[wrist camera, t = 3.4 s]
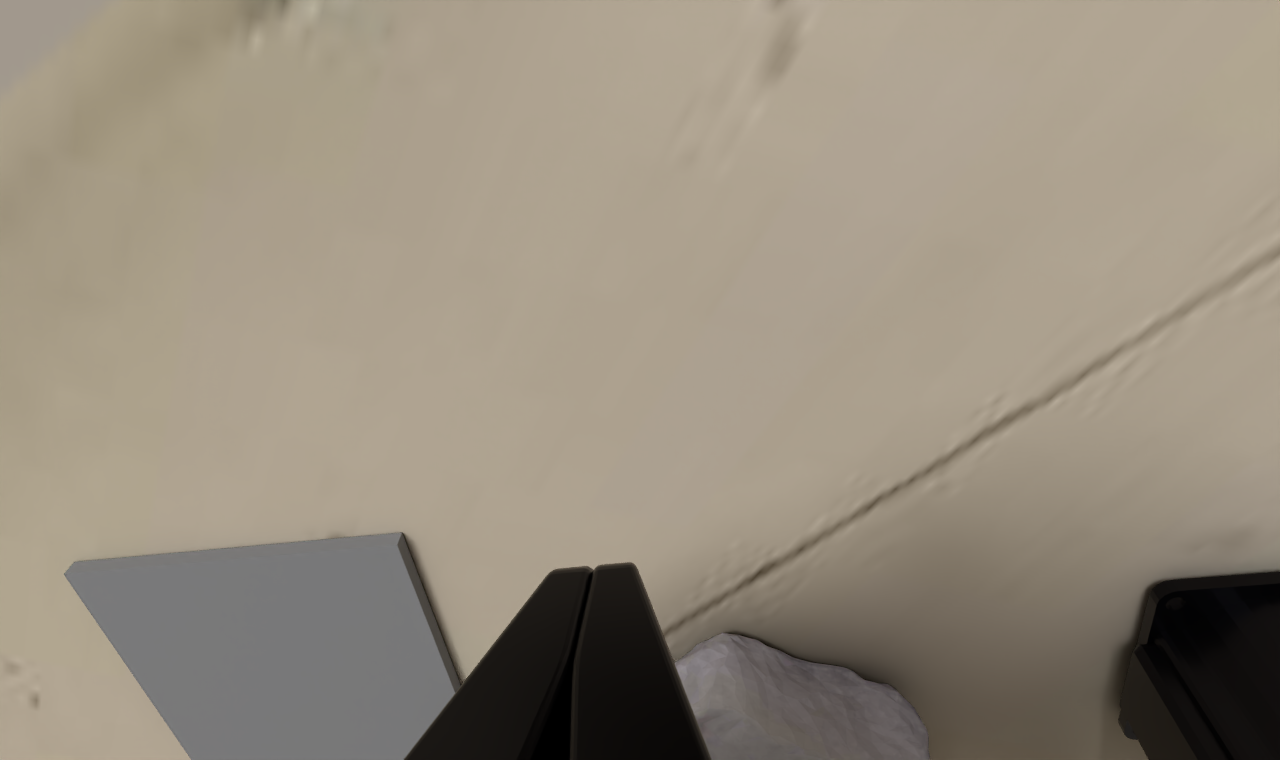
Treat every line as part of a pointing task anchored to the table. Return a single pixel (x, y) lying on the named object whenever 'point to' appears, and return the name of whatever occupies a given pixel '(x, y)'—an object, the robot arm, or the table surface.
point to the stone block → (793, 707)
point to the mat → (278, 646)
